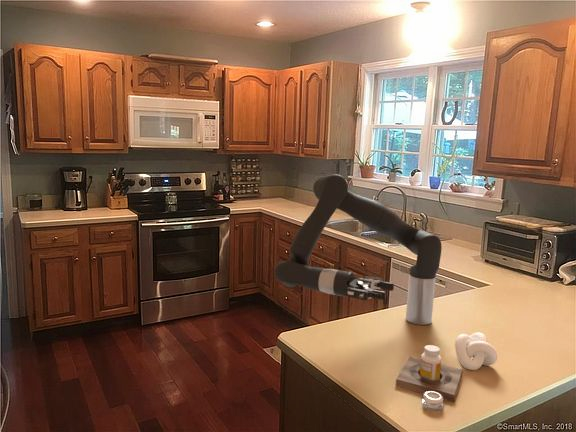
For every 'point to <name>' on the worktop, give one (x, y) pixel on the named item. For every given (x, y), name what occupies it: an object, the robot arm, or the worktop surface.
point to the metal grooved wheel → (432, 401)
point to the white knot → (474, 351)
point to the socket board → (415, 382)
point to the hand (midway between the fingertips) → (389, 291)
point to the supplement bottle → (430, 363)
